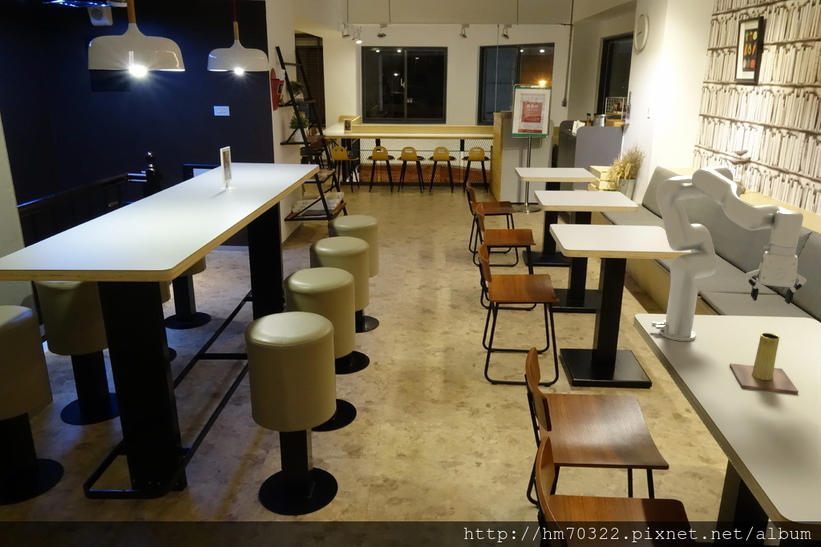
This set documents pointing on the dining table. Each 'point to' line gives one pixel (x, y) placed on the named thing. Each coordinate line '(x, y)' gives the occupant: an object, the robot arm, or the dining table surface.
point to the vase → (766, 356)
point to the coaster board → (750, 382)
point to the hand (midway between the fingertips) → (770, 300)
